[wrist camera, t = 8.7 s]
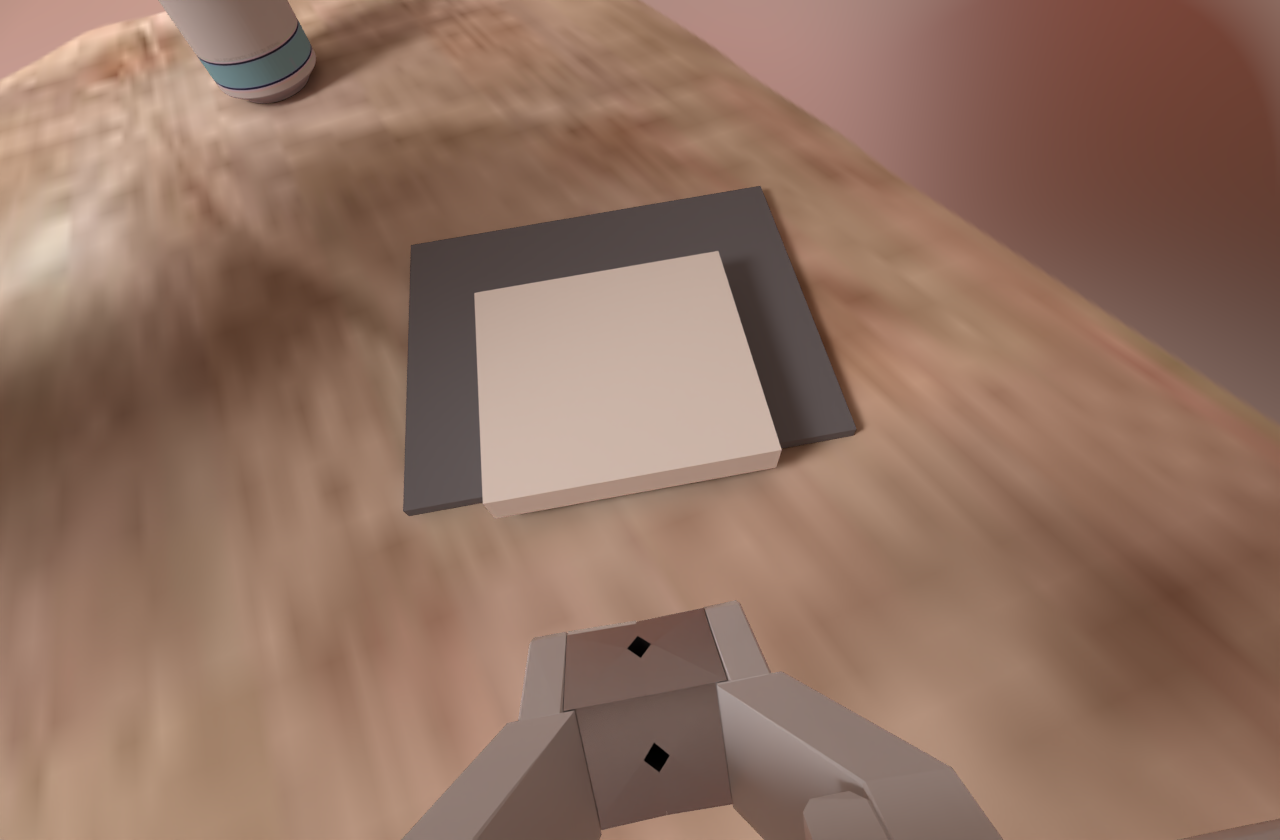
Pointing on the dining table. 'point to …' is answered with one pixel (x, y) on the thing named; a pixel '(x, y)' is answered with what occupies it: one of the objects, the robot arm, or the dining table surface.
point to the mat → (587, 244)
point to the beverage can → (247, 45)
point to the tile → (616, 386)
